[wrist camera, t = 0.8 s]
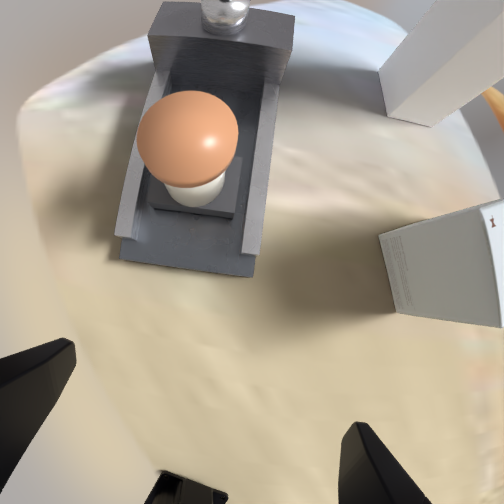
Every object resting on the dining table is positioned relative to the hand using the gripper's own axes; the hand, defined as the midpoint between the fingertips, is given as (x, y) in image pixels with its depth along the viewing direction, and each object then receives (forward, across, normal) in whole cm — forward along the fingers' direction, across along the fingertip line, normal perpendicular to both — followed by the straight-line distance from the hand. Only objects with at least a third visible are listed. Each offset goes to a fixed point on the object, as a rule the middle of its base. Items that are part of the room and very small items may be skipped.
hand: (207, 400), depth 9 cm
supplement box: (+20, -15, -1) cm, 25 cm away
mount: (+20, +6, -6) cm, 21 cm away
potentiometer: (+15, +6, -15) cm, 23 cm away
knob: (+16, +5, -3) cm, 17 cm away
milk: (+27, -11, -16) cm, 34 cm away
